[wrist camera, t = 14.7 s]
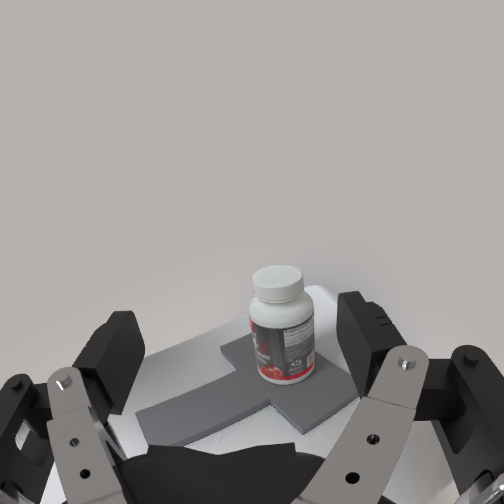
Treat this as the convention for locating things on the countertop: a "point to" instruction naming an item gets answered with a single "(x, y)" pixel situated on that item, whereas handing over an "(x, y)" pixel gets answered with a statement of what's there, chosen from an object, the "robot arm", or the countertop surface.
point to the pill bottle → (282, 325)
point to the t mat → (247, 399)
